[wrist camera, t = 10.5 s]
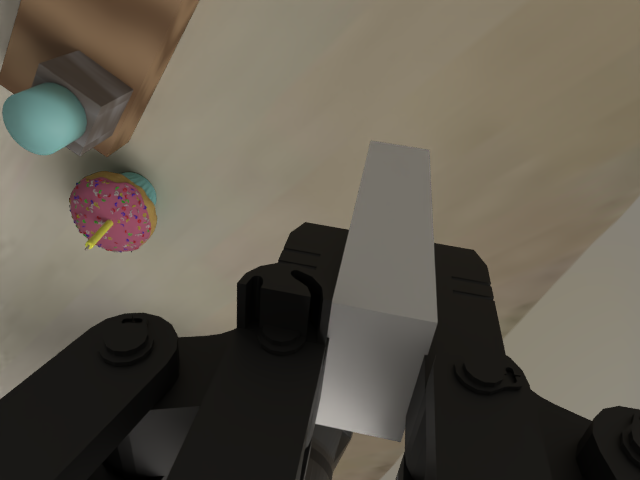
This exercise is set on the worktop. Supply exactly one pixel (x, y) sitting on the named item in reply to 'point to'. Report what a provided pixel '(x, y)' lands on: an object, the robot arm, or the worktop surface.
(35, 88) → the knob
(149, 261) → the worktop surface
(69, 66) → the mount
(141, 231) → the cupcake
